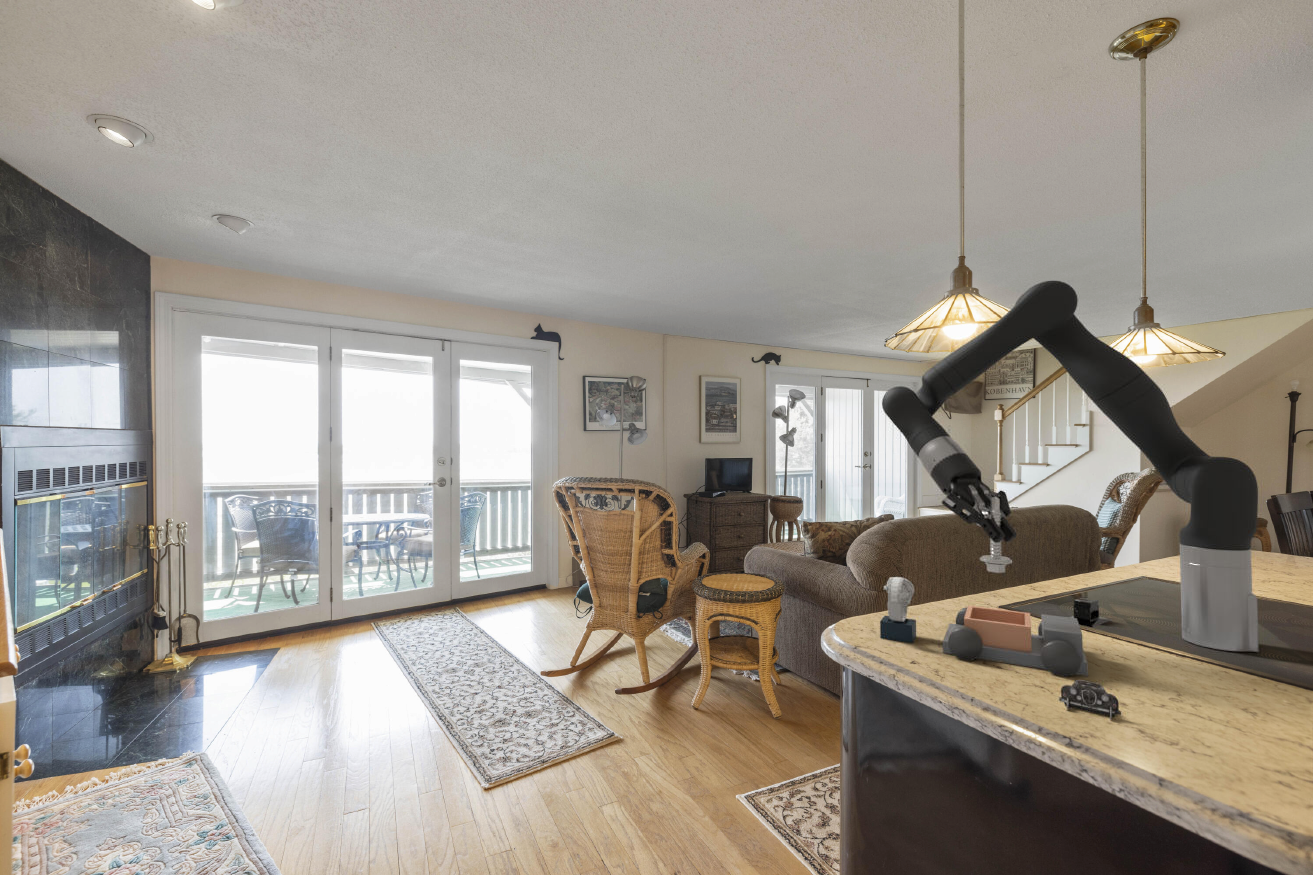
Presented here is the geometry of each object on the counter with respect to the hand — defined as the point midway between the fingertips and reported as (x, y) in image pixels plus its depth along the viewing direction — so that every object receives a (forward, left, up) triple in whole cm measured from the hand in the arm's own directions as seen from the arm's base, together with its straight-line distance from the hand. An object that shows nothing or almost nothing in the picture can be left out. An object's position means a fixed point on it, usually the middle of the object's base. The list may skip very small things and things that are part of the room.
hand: (1006, 539), depth 99 cm
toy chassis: (-1, -1, -20) cm, 20 cm away
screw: (+2, -1, -6) cm, 6 cm away
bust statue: (+17, 0, -20) cm, 26 cm away
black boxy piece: (-13, -31, -20) cm, 40 cm away
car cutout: (-13, +20, -20) cm, 32 cm away
